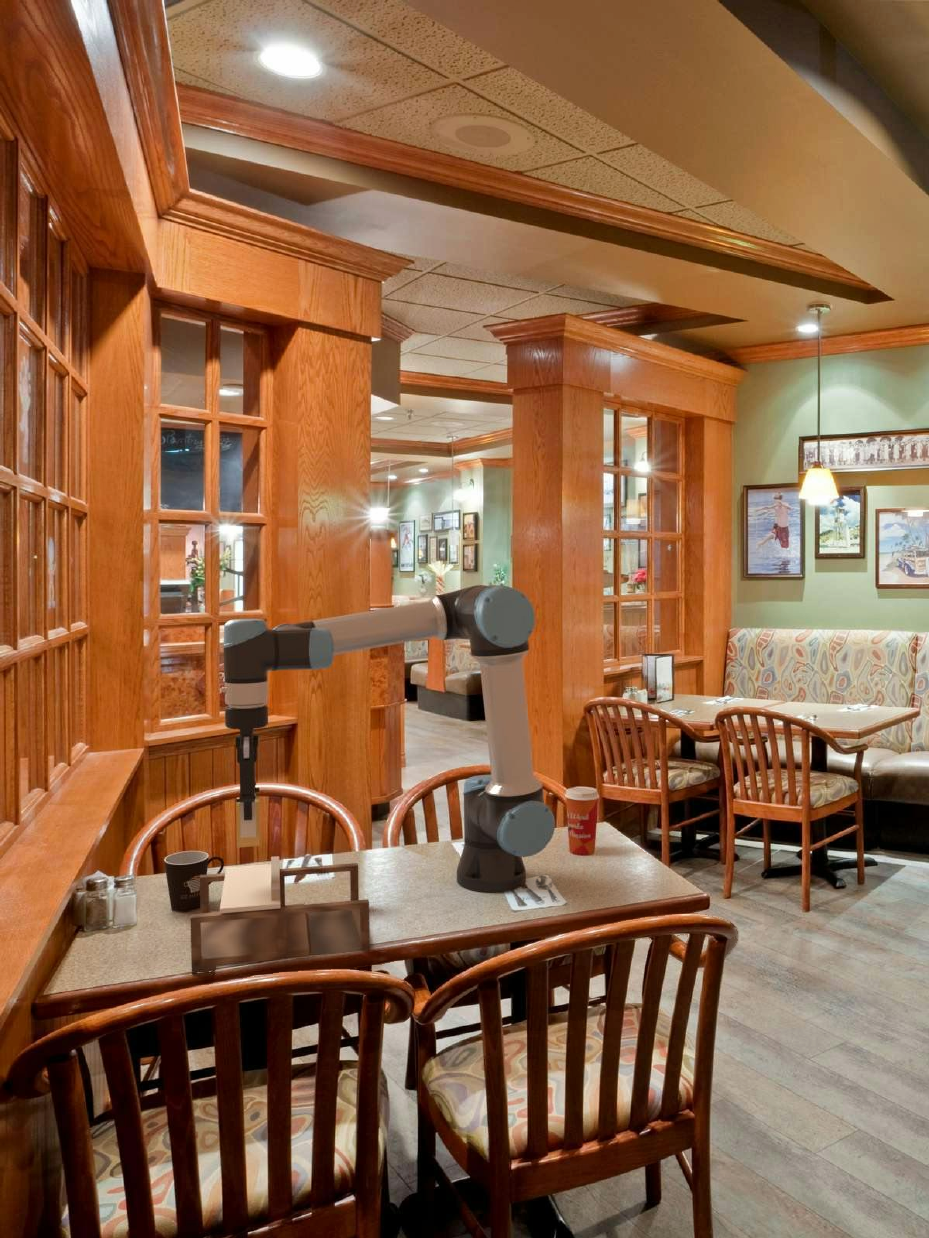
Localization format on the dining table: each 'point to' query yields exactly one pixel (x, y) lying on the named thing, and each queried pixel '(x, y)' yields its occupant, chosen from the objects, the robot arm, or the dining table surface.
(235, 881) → the lid
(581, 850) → the coffee cup
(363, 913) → the wooden organizer rack
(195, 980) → the dining table surface
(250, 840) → the block
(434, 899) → the dining table surface
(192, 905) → the coffee mug
